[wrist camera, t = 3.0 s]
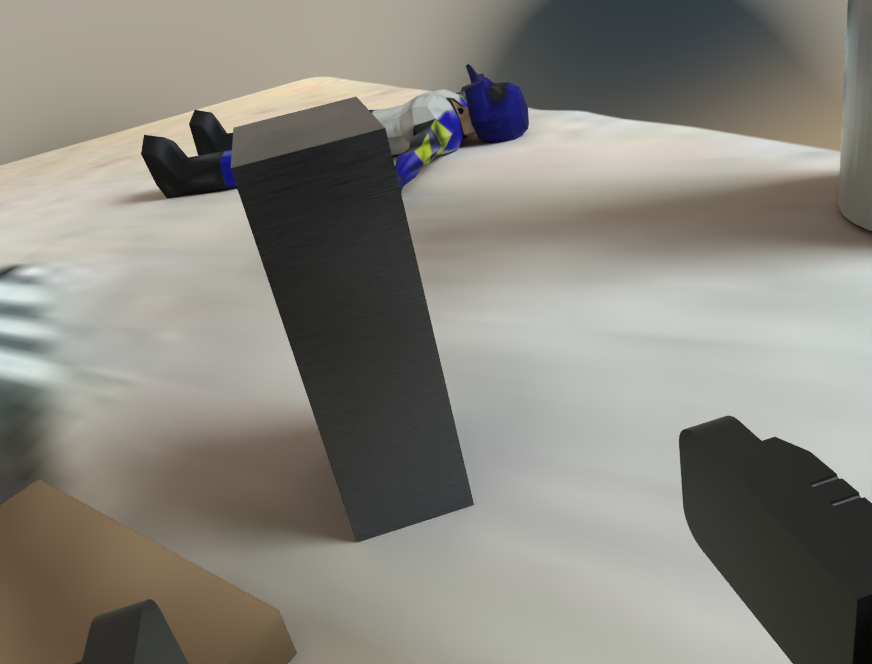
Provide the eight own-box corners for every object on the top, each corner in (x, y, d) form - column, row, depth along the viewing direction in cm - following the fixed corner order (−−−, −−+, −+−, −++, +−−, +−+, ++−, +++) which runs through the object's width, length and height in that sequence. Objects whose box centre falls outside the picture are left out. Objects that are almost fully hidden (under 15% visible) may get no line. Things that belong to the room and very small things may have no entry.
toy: (255, 79, 77) (546, 21, 68) (274, 137, 80) (555, 89, 71) (39, 186, 50) (474, 114, 41) (78, 269, 53) (495, 219, 43)
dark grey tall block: (473, 504, 22) (385, 127, 17) (357, 542, 21) (230, 168, 16) (434, 414, 26) (355, 96, 21) (337, 444, 26) (233, 127, 21)
